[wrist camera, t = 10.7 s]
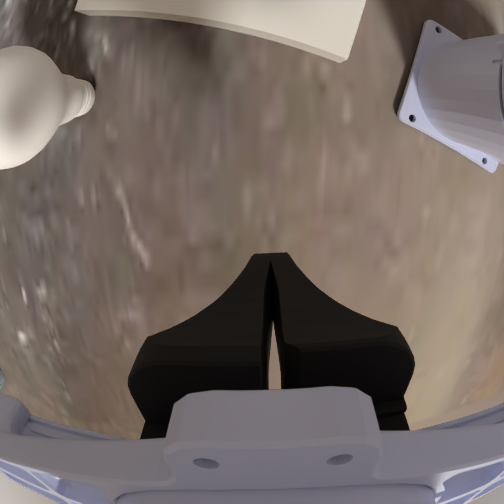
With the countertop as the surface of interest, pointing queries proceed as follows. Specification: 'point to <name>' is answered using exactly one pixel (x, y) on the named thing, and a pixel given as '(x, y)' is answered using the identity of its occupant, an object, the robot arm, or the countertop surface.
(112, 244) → the countertop surface
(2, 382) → the drinking glass
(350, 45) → the breaker panel
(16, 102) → the lightbulb
